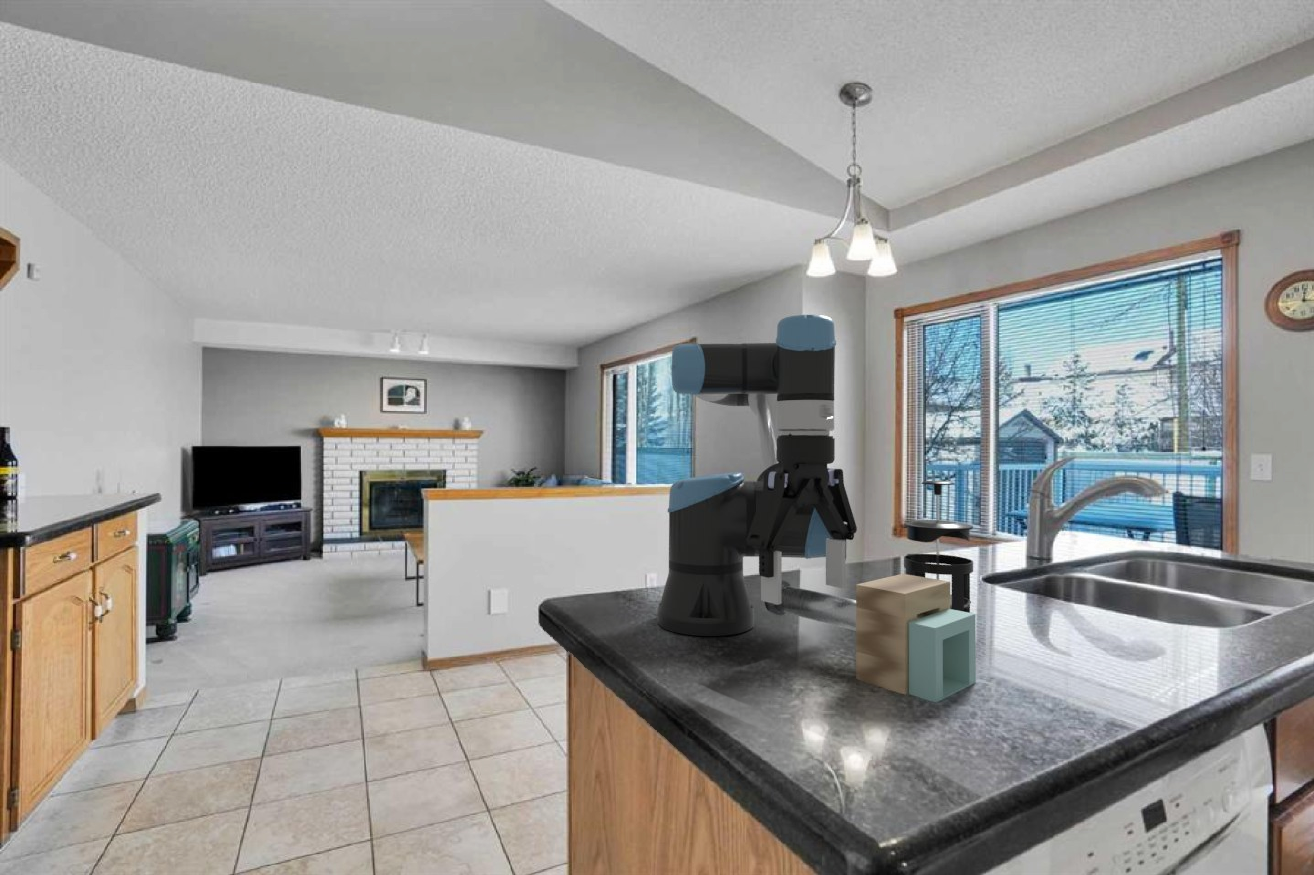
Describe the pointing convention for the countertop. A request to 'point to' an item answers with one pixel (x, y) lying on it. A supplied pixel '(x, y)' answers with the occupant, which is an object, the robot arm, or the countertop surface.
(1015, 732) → the countertop surface
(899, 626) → the housing
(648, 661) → the countertop surface
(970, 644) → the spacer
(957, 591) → the french press
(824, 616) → the shaft
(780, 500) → the robot arm
